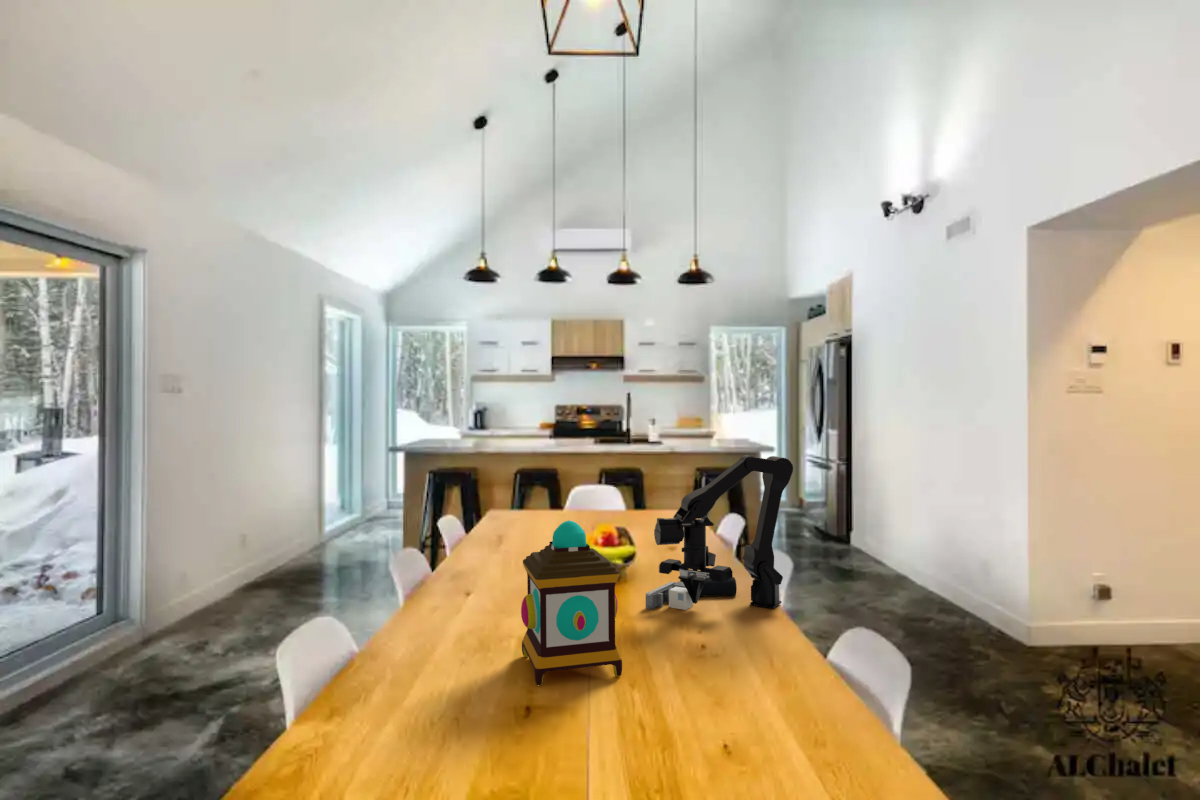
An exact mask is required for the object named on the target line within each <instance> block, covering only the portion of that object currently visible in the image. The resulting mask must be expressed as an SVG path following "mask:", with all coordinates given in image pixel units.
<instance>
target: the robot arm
mask: <svg viewBox="0 0 1200 800" xmlns="http://www.w3.org/2000/svg"><path fill="white" fill-rule="evenodd" d="M751 472H759V473H762V483H763V486H764V487H763V495H762V498H761V499H762V500H761V505H760V510H759V514H758V520H757V525H756V529H755V533H754V534H755V535H754V539H753V541H752V543H751V544H750V545H748V544H745V545H744V554H743V556H742V557H741V560H743V566H744V568H745V570H746V571H747V572H748V573H749V575H750V578H752V579H753V580H752V584H751V586H750V600H751V601H750V602H749V605H750V606H754V607H756V606H757V607H762V608H767V609H775V608H777V607H778V606H779V605H781V604H782V600H780V585H781V584H782V581H783V580H784V577H783V575H782V574H781V573H780V572H779V571H778V570H777V569H776V568H775V554H774V548H773V543H774V542H773V541H774V535H775V531H776V526H777V520H778V515H779V510H780V505H781V499H782V496H783V491H785V489H786V487H787V486H788V484H789V483H790V481H791V478H792V475H793V473H794V465H793V463H792V462H791V460H790V459H789V458H786V457H782V456H781V457H780V456H776V455H771V456H768V457H767V458H762V457H755V456H752V455H746V454H745V455H742V456H741V457H739V459H738V460H737V461H735V462H734V463H733V464H732V465H730V466H729V467H728V468H727V469H725V470H724V471H723V472H722V473H720V474H719V475H718V476H717V477H715V478H714V479H713V480H712V481H710V482H709V483H708V484H706V485H705V486H703V487H699V488H697V489H695V490H694V491H693V490H692V491H691V492H689V493H688V494H686V495H685V496H684V497H683V498H682V499H681V503H680V507H679V508H678V510H677V511H676V512H675V514H674V516H672V518H671V517H670V518H665V517H664V518H663V517H657V518H656V522H655V525H654V526H655V527H654V535H653V536H654V542H655V544H656V545H657V546H664V545H680V543H682V542H683V547H681V552H682V553H683V562H682V561H681V560H679V559H674V558H673V559H672V558H668V559H665V560H663V561H661V562H660V563H659V564H658V573H659V574H663V575H664V574H665V575H670V574H671V573H672V572H673V571H674V572H675V571H676V572H679V576H678V577H677V579H678V580H680V579H681V580H682V582H683V584H684V585H685V587H686V589H687V591H688V593H689V595H690V597H691V600H692V602H693V604H697V603H698V602H699V598H700V597H701V596H700V594H701V591H702V588H703V586H704V584H705V582H706V581H707V580H709V579H711V580H712V581H717V582H725V581H727V580H729V579H731V578H732V577H733V569H732V568H731V567H730V566H727V565H726V566H724V565H716V566H715V563H716V556H717V555H716V553H712V552H710V551H709V545H707V533H706V532H707V528H706V527H713V526H714V525H715V524H714V523H713V521H711V519H710V518H709V516H707V514H709V512H710V511H711V510H712V509H713V508H714V506H715V504H716V503H717V501H718V500H719V499H720V497H722V496H723V495H724V494H725V493H727V492H728V491H730V490H731V489H732V488H733V487H735V486H736V485H737V484H738V483H739V482H741V481H742V480H743V479H744V478H746V477H747V476H748V475H750V473H751ZM710 567H711V568H710Z"/></svg>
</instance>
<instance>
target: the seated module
mask: <svg viewBox="0 0 1200 800" xmlns="http://www.w3.org/2000/svg"><path fill="white" fill-rule="evenodd" d="M674 587H682V588H686V587H685V585H684V584H683V582H680V580H678V581H676V583H675V584H674V585H673V588H674Z"/></svg>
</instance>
